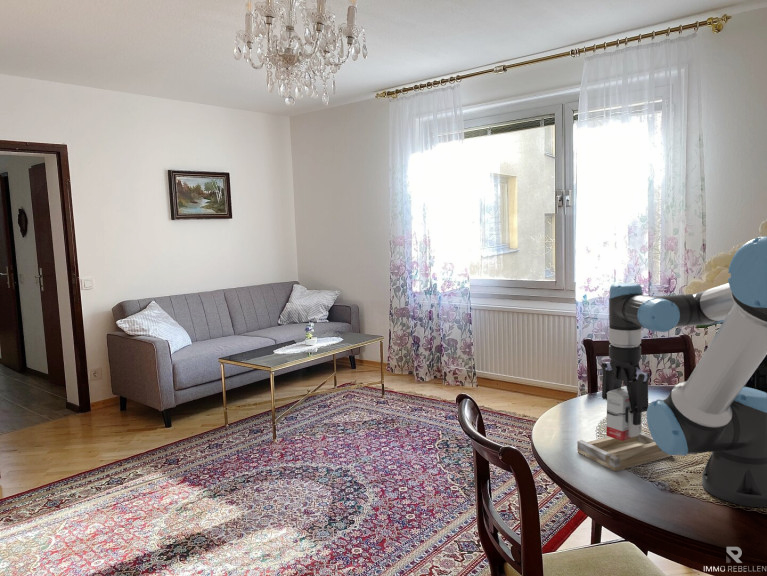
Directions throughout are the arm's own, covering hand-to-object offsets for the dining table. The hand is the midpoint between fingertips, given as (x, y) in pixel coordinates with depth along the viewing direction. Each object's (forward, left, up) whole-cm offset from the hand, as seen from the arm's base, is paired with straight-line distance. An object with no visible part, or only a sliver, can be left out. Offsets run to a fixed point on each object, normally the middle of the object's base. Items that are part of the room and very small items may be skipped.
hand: (623, 431), depth 143 cm
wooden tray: (0, 0, -6) cm, 6 cm away
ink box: (0, 0, -1) cm, 1 cm away
